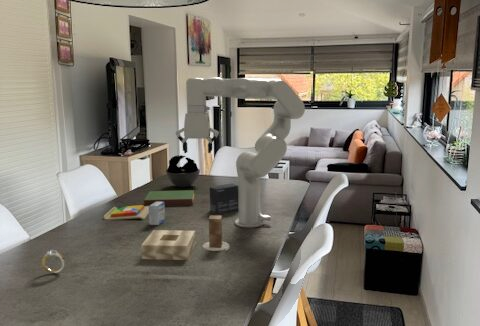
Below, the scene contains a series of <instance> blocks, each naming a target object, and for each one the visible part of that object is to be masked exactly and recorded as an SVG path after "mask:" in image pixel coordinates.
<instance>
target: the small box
mask: <svg viewBox="0 0 480 326" xmlns="http://www.w3.org/2000/svg"><path fill="white" fill-rule="evenodd" d="M209 202H210V204H209V206H210V212H212V213H215V214H218V215H219V214H221V213H227V212H232V211H237V210H238V211H239V206H238V184H235V183H231V182H230V183H227V184H220V185H214V186H209Z"/></svg>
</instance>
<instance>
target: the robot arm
mask: <svg viewBox="0 0 480 326" xmlns="http://www.w3.org/2000/svg"><path fill="white" fill-rule="evenodd" d="M185 86H186V87H185V88H186V89H185V90H186V92H185V93H186V113H185V115H184V123H183V128H181V129H179V130H177V131H176V132H175V135H176V136H177V139H178V140H179V141H180V142H181V143H182V151H184V154H187V153H188V142H187V141H188V140H189V139H191V140H192V139H200V140H201V139H203V140H204V139H206V141H208V143H207V153H208V154H211V152H212V151H213V142H214V141H215V140H216V139H217V138H218V136H219V135H220V132H219V131H218V130H216V129H214V128H212V127H211V122H210V115H209V112H208V111H210V110H211V107H210V106H207V97H216V98H217V97H220V98H221V97H224V98H234V99H242V100H243V99H244V100H268V101H270V100H271V101H275V103H274V105H273V122H272V123H271V125H270V126H269V128H267V129H266V130H265V131H264V133H263V134H262V135H260V136H259V138H257V140H256V141H255V143H254V149H255V152H256V153H255V152H253V151H244V152H241V153H239V155H238V156H237V159H236V162H235V163H236V164H235V167H236V168H235V169H236V173H237V185H238V206H239V209H238V218H236V219H235V220H234V224H235V225H236V226H237V227H241V228H246V229H247V228H248V229H252V228H253V229H254V228H258V227H261V226H263V225H264V224H265V221H271V220H272V219H271V218H272V216H270V215H268V214H262V211H261V180H260V179H261V178H263V177H266V176H267V175H268V174H269V173H270V172H271V171H272V170H273V169H274V168H275V167H276V166H277V164H279V162H281V160H282V159H284V157H285V155H286V152H287V150H288V146H287V142H286V140H285V139H286V138H287V137H288V136H289V134H290V132H291V128H292V127H291V125H292V124H291V122H292V121H291V120H298V119H301V118H302V117H303V116H304V114H305V111H306V109H305V103H304V101H303V100H302V99H301V98H300V97H299V95H298V94H297V93H296V92H295V91H294V89H293V88H292V87H291V86H290V85H289V84H288V83H287V81H285V80H283V79H280V78H279V79H276V78H275V79H268V78H266V79H265V78H253V77H252V78H251V77H238V78H221V77H217V76H216V77H212V76H211V77H204V78H202V77H189V78H187V80H186V83H185ZM181 133H183V136H184V137H182V135H181ZM211 133H213V134H214V135H213V137H211Z"/></svg>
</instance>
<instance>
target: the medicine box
mask: <svg viewBox="0 0 480 326" xmlns="http://www.w3.org/2000/svg"><path fill="white" fill-rule="evenodd" d="M165 208H166V206H164V202H154V203H153V204H151V205H150V206H149V214H148V220H149V225H151V226H160V225H161V224H162V223H163V222H165V221H166V212H165Z"/></svg>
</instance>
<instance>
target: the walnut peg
mask: <svg viewBox="0 0 480 326" xmlns="http://www.w3.org/2000/svg"><path fill="white" fill-rule="evenodd" d="M222 217H223V216H222V215H209V217H208V242H209V248H221V247H222V241H223V218H222Z"/></svg>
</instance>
